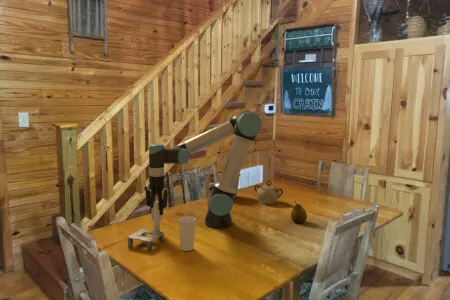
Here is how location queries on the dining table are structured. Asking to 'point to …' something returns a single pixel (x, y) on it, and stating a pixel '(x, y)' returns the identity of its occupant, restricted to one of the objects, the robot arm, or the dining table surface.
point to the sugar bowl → (268, 193)
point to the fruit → (298, 214)
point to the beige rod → (156, 216)
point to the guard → (142, 237)
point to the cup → (187, 232)
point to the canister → (217, 178)
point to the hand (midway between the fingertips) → (156, 220)
